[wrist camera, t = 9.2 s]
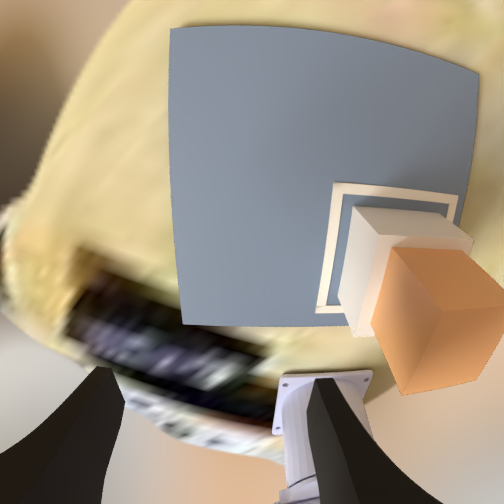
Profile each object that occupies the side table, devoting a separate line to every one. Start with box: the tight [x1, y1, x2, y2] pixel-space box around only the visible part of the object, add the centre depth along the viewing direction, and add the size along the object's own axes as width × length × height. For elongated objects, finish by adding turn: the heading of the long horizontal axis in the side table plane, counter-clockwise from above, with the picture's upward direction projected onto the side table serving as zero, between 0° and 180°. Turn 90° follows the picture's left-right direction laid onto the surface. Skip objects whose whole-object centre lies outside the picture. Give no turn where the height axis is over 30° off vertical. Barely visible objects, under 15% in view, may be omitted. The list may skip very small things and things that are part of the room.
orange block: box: [370, 247, 504, 395], centre depth 12 cm, size 4×4×5 cm
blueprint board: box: [168, 25, 479, 327], centre depth 17 cm, size 18×18×1 cm
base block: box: [338, 206, 474, 337], centre depth 16 cm, size 6×6×4 cm
